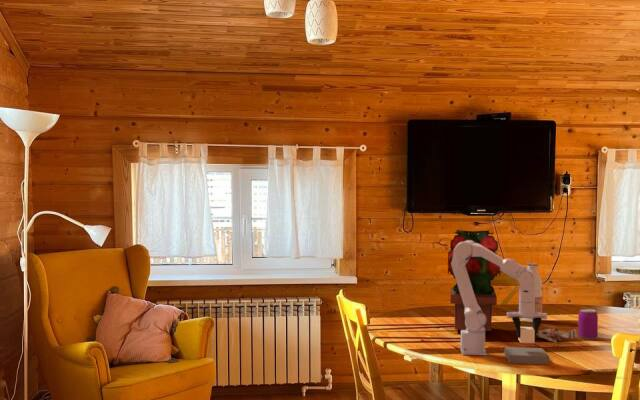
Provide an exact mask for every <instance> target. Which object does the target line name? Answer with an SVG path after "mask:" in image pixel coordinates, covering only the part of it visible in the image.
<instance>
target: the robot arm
mask: <svg viewBox="0 0 640 400" xmlns="http://www.w3.org/2000/svg"><path fill="white" fill-rule="evenodd" d="M453 251H454V254H453V258H452V262H451V266H452V269H453V272H454V275H455V279H454V280H455V283H456V282H457V285H458V288H459V291H460V294H461V297H462V301H463V304H464V307H465V312H464V315H465V326H466V327H467V328H466V330H461V333H460V344H459V348H460V349H459V350H460V352H461V355H464V356H488V354H487V351H486V334H485V328H484V325H485V324H486V321H487V319H486V316H485V314H484V313H483V312H482V310H481V308H480V306H479V305H478V304H477V301H476V298H475V295H474V292H473V288H472V285H471V282H470V279H469V276H468V273H467V270H466V267H465V265H466V264H467V262H468V260H469V259H470V258H471V257H483V258H485V259H487V260H488V261H490V262H492V263H494V264H496V265H498V266H500V272H502V273H504V274H506V275H507V276H509V277H511V278H512V279H514V280H516V281H517V282H518V284H519V288H518V293H519V294H518V311H507V312H506V318H507V319H512V322H513V324H514V326H515V330H516V335H517V338H520V327H521V322H522V321H521V319H522V318H533V322H532V328H533V329H534V330H535V339H537V338H536V334H537V331H538V332H539V328H540V326H541V324H542V323H543V320H548V313H547V312H542V313H537V312H535V283H534V282H535V280H536V274H535V272H534V271H533V270H532V269H529V268H528V267H527V265H522V264H520V263H518V262H516V260H515V259H514V258H509V257H508V258H505V259H504V258H503V257H501V256H499V255H498V254H497V255H496V254H495V253H496V252H495V253H493V252H492V251H490V250H488V249H487V248H485V247H484V246H482V245H480V244H478V243H475V242H474V241H472V240H466V241H464V242H460V243H458V244H457V245H456V247H455V248H454V250H453ZM527 268H528V269H527ZM522 316H524V317H522ZM541 319H542V320H541Z"/></svg>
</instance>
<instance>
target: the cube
mask: <svg viewBox="0 0 640 400" xmlns="http://www.w3.org/2000/svg"><path fill="white" fill-rule="evenodd" d="M517 338H518V337H517ZM535 339H536V338H535V330H534V329H533V326H520V338H518V339H517V340H518V341H519V343H521V344H535Z"/></svg>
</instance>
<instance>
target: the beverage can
mask: <svg viewBox="0 0 640 400" xmlns="http://www.w3.org/2000/svg"><path fill="white" fill-rule="evenodd" d="M577 315H578V321H577V324H578V325H577V326H578V328H577V329H578V330H577V332H578V333H577V335H578V336H579V338H580V339H583V340H589V341H590V340H591V341H592V340H596V339H597V338H598V335H599V334H598V330H599V328H598V327H599V326H598V325H599V323H598V321H599V317H598V316H599V315H598V312H597V311H596V310H595V309H593V308H581V309H580V310H579V313H578V314H577Z"/></svg>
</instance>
